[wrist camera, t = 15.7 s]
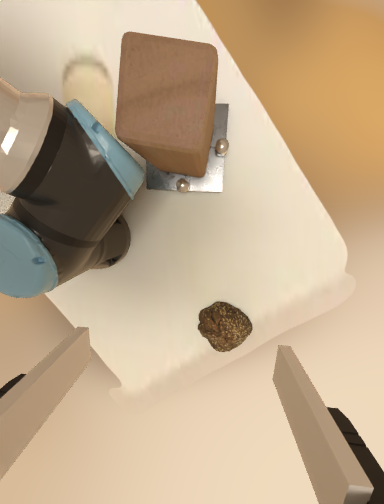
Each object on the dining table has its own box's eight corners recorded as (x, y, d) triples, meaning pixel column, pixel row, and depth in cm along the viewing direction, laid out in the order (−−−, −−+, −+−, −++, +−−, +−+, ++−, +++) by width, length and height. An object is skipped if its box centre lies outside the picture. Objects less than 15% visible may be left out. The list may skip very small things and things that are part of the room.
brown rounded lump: (257, 326, 49) (263, 340, 44) (220, 353, 51) (221, 368, 47) (224, 291, 47) (226, 300, 42) (187, 320, 50) (185, 332, 45)
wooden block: (164, 116, 38) (118, 23, 19) (214, 125, 38) (220, 39, 18) (157, 170, 40) (110, 137, 21) (204, 179, 40) (201, 153, 21)
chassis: (147, 191, 43) (140, 189, 39) (146, 104, 39) (138, 91, 35) (223, 194, 42) (224, 193, 38) (230, 105, 38) (232, 92, 34)
